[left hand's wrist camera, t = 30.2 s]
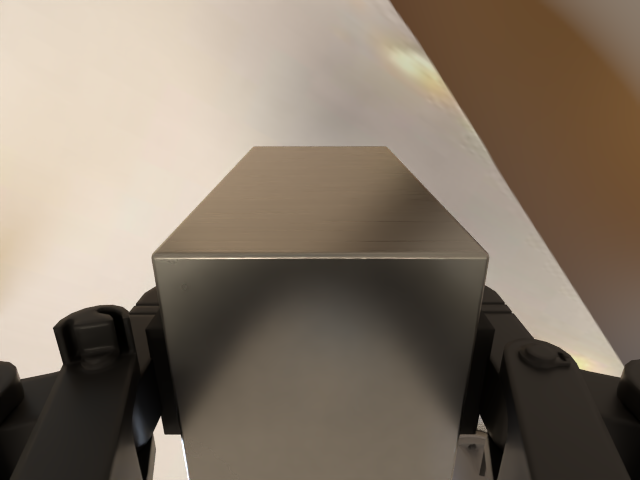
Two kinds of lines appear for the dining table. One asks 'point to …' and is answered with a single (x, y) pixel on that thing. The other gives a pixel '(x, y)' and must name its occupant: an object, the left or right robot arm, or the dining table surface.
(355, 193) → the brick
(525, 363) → the left robot arm
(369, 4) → the dining table surface
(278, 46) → the dining table surface
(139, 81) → the dining table surface
